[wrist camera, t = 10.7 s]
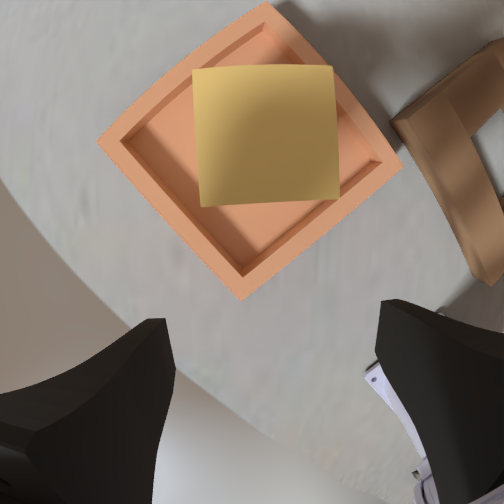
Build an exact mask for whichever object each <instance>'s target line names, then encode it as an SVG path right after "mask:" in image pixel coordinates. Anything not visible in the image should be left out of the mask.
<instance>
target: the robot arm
mask: <svg viewBox="0 0 504 504" xmlns="http://www.w3.org/2000/svg"><path fill="white" fill-rule="evenodd" d="M375 353H376V356H377V358H378V361H379V362H378V363H377V364H375V365H374V366H373V367H371V368H370V369H369V370H367V371H366V372H365V374H364V377H365V379H366V381H367V382H368V383H369V384H370V385H371V386H372V387H373V388H374V390H375V391H376V392H377V393H378V394H379V395H380V396H381V397H382V399H383V400H384V401H385V402H386V403H387V404H388V405H389V406H390V407H391V409H392V410H393V411H394V412H395V413H396V414H397V415H398V417H399V418H400V420H401V422H402V424H403V426H404V427H405V429H406V431H407V433H408V435H409V436H410V438H411V440H412V442H413V444H414V446H415V447H416V449H417V451H418V453H419V455H420V457H421V459H422V460H423V463H422V464H421V465H419V466H418V467H417V470H418V472H419V474H420V476H421V478H422V479H421V480H420V481H418V482H417V483H416V485H415V488H414V496H413V504H504V334H503V333H498V332H494V331H489V330H485V329H481V328H478V327H474V326H471V325H468V324H465V323H462V322H459V321H456V320H454V319H451V318H448V317H446V316H445V315H444V314H442V313H435V312H433V311H430V310H428V309H425V308H423V307H420V306H418V305H415V304H412V303H410V302H407V301H403V300H399V299H392V300H385V301H381V308H380V316H379V324H378V332H377V339H376V345H375ZM175 371H176V367H175V363H174V358H173V354H172V349H171V344H170V339H169V334H168V329H167V324H166V319H165V318H153V319H146V320H144V321H143V322H141V323H140V324H138V325H137V326H136V327H134V328H133V329H131V330H130V331H129V332H127V333H126V334H125V335H123V336H122V337H121V338H119V339H118V340H116V341H115V342H114V343H112V344H111V345H109V346H108V347H106V348H105V349H103V350H102V351H100V352H99V353H97V354H96V355H94V356H93V357H91V358H90V359H88V360H86V361H85V362H83V363H81V364H79V365H78V366H76V367H74V368H72V369H70V370H68V371H66V372H64V373H62V374H60V375H57V376H55V377H52V378H50V379H48V380H45V381H43V382H40V383H38V384H35V385H32V386H29V387H25V388H22V389H19V390H15V391H11V392H7V393H3V394H0V504H152V493H153V481H154V472H155V464H156V456H157V450H158V446H159V442H160V438H161V434H162V431H163V427H164V423H165V420H166V416H167V412H168V409H169V405H170V401H171V398H172V394H173V387H174V380H175V379H174V378H175ZM374 377H375V378H374ZM372 378H374V379H372Z"/></svg>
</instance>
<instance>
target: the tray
mask: <svg viewBox="0 0 504 504" xmlns="http://www.w3.org/2000/svg"><path fill="white" fill-rule="evenodd" d="M268 64H298V65H326V66H329V65H328V64H327V62H326V61H325V60H324V59H323V58H322V57H321V56H320V55H319V53H318V52H317V51H316V50H315V49H314V48H313V47H312V46H311V45H310V44H309V43H308V41H307V40H306V39H305V38H304V37H303V36H302V35H301V34H300V33H299V32H298V31H297V30H296V29H295V28H294V27H293V26H292V25H291V24H290V23H289V22H288V21H287V20H286V19H285V18H284V17H283V16H282V15H281V14H280V13H279V12H278V11H277V10H276V9H275V8H274V7H272V6H271V5H270V4H269V3H268V2H267V1H266V2H264V3H262V4H261V5H259V6H258V7H256V8H254V9H253V10H251V11H250V12H248V13H246V14H245V15H243V16H242V17H240V18H239V19H237V20H236V21H234V22H233V23H231V24H230V25H228V26H227V27H226V28H224V29H223V30H221V31H220V32H219V33H217V34H216V35H214V36H213V37H212V38H210V39H209V40H208V41H206V42H205V43H204V44H202V45H201V46H200V47H198V48H197V49H196V50H194V51H193V52H192V53H191V54H189V55H188V56H187V57H185V58H184V59H183V60H182V61H181V62H179V63H178V64H177V65H176V66H174V67H173V68H172V69H171V70H170V71H168V72H167V73H166V74H165V75H164V76H163V77H161V78H160V79H159V80H158V81H157V82H156V83H155V84H154V85H152V86H151V87H150V88H149V89H148V90H147V91H146V92H145V93H144V94H143V95H141V96H140V97H139V98H138V99H137V100H136V101H135V102H134V103H133V104H132V105H131V106H130V107H129V108H128V109H127V110H126V111H125V112H124V113H123V114H122V115H121V116H120V117H119V118H118V119H117V120H116V121H115V122H114V123H113V124H112V125H111V126H110V127H109V128H108V129H107V130H106V131H105V132H104V133H103V134H102V135H101V137H100V138H99V139H98V140H97V141H96V142H97V143H98V145H99V146H100V147H101V148H102V149H103V151H104V152H105V153H106V154H107V155H108V156H109V158H110V159H111V160H112V161H113V162H114V163H115V165H116V166H117V167H118V168H119V169H120V170H121V171H122V173H123V174H124V175H125V176H126V177H127V178H128V179H129V181H130V182H131V183H132V184H133V185H134V186H135V187H136V189H137V190H138V191H139V192H140V193H141V194H142V195H143V196H144V198H145V199H146V200H147V201H148V202H149V203H150V204H151V205H152V207H153V208H154V209H155V210H156V211H157V212H158V213H159V214H160V215H161V217H162V218H163V219H164V220H165V221H166V222H167V223H168V224H169V225H170V226H171V228H172V229H173V230H174V231H175V232H176V233H177V234H178V235H179V236H180V237H181V238H182V240H183V241H184V242H185V243H186V244H187V245H188V246H189V247H190V248H191V249H192V250H193V251H194V252H195V254H196V255H197V256H198V257H199V258H200V259H201V260H202V261H203V262H204V263H205V264H206V265H207V266H208V267H209V268H210V270H211V271H212V272H213V273H214V274H215V275H216V276H217V277H218V278H219V279H220V280H221V281H222V282H223V283H224V284H225V285H226V286H227V287H228V288H229V289H230V291H231V292H232V293H233V294H234V295H235V296H236V297H237V298H238V299H239V300H240V301H242V300H243V299H245V298H246V297H247V296H248V295H250V294H251V293H252V292H253V291H255V290H256V289H257V288H258V287H260V286H261V285H262V284H263V283H265V282H266V281H267V280H268V279H270V278H271V277H272V276H273V275H275V274H276V273H277V272H278V271H280V270H281V269H282V268H283V267H285V266H286V265H287V264H288V263H290V262H291V261H292V260H293V259H295V258H296V257H297V256H298V255H299V254H301V253H302V252H303V251H304V250H306V249H307V248H308V247H309V246H310V245H312V244H313V243H314V242H315V241H317V240H318V239H319V238H320V237H321V236H323V235H324V234H325V233H326V232H327V231H329V230H330V229H331V228H332V227H334V226H335V225H336V224H337V223H338V222H340V221H341V220H342V219H343V218H344V217H345V216H347V215H348V214H349V213H350V212H351V211H353V210H354V209H355V208H356V207H357V206H359V205H360V204H361V203H362V202H363V201H364V200H366V199H367V198H368V197H369V196H370V195H372V194H373V193H374V192H375V191H376V190H377V189H379V188H380V187H381V186H382V185H383V184H384V183H386V182H387V181H388V180H389V179H390V178H391V177H393V176H394V175H395V174H396V173H397V172H398V171H399V170H401V169H402V168H403V167H404V166H403V164H402V163H401V161H400V159H399V158H398V156H397V155H396V153H395V152H394V150H393V149H392V147H391V146H390V144H389V143H388V141H387V140H386V138H385V137H384V136H383V134H382V133H381V131H380V130H379V128H378V127H377V126H376V124H375V123H374V121H373V120H372V119H371V117H370V116H369V115H368V113H367V112H366V111H365V109H364V108H363V107H362V105H361V104H360V103H359V101H358V100H357V99H356V98H355V96H354V95H353V94H352V92H351V91H350V90H349V89H348V87H347V86H346V85H345V84H344V83H343V81H342V80H341V79H340V78H339V76H338V75H337V74H336V73H335V72H334V71H333V75H334V86H335V98H336V112H337V128H338V147H339V175H340V199H334V200H309V201H288V202H270V203H254V204H239V205H224V206H211V207H201V204H200V193H199V180H198V167H197V153H196V138H195V122H194V104H193V82H192V70H193V69H202V68H213V67H225V66H241V65H268Z"/></svg>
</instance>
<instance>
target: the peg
mask: <svg viewBox="0 0 504 504" xmlns="http://www.w3.org/2000/svg"><path fill="white" fill-rule="evenodd" d="M192 82H193V104H194V122H195V138H196V153H197V167H198V180H199V193H200V204H201V207H211V206H224V205H239V204H254V203H270V202H288V201H309V200H334V199H340V175H339V147H338V128H337V112H336V98H335V86H334V75H333V66H326V65H298V64H268V65H241V66H225V67H213V68H202V69H193V70H192Z"/></svg>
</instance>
